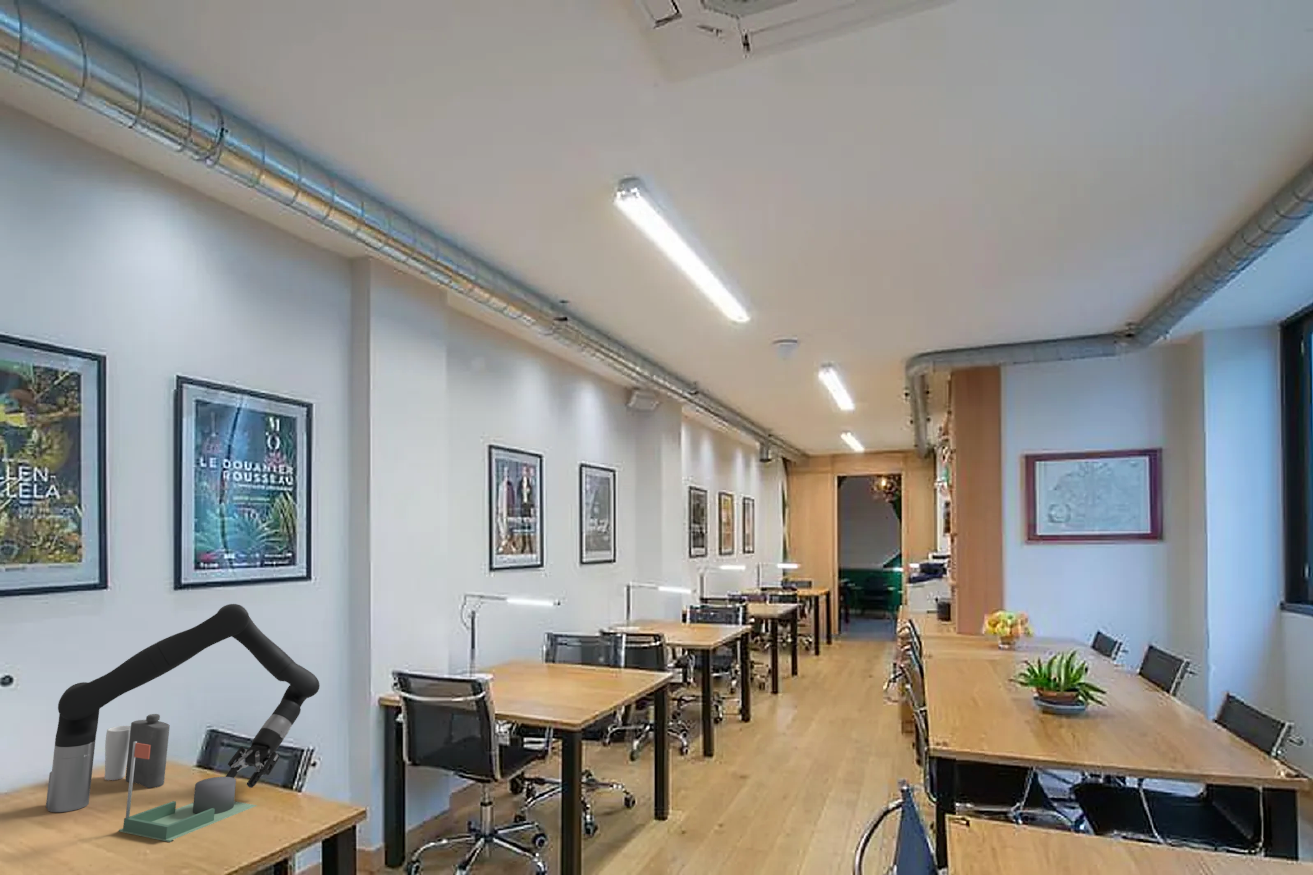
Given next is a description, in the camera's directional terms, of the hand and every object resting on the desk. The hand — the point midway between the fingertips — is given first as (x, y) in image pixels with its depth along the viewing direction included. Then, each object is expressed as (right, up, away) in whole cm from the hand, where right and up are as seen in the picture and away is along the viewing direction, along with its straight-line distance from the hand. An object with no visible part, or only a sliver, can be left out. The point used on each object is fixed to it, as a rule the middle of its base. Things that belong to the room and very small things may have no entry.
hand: (237, 784), depth 224 cm
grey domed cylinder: (-3, -3, -8) cm, 9 cm away
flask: (-35, -6, +13) cm, 38 cm away
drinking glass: (-47, -6, +16) cm, 50 cm away
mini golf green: (-5, -3, -14) cm, 16 cm away
